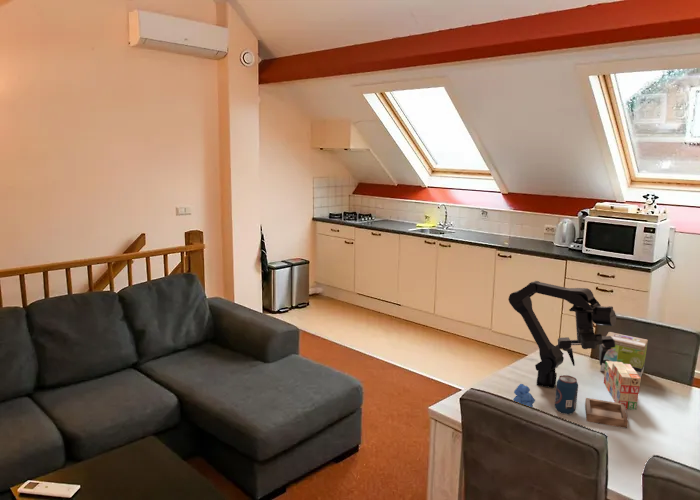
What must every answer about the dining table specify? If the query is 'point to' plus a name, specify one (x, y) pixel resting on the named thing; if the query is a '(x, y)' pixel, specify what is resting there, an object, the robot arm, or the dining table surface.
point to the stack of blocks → (622, 383)
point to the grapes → (524, 395)
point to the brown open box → (606, 413)
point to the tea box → (627, 352)
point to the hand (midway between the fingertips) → (587, 365)
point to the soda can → (566, 394)
